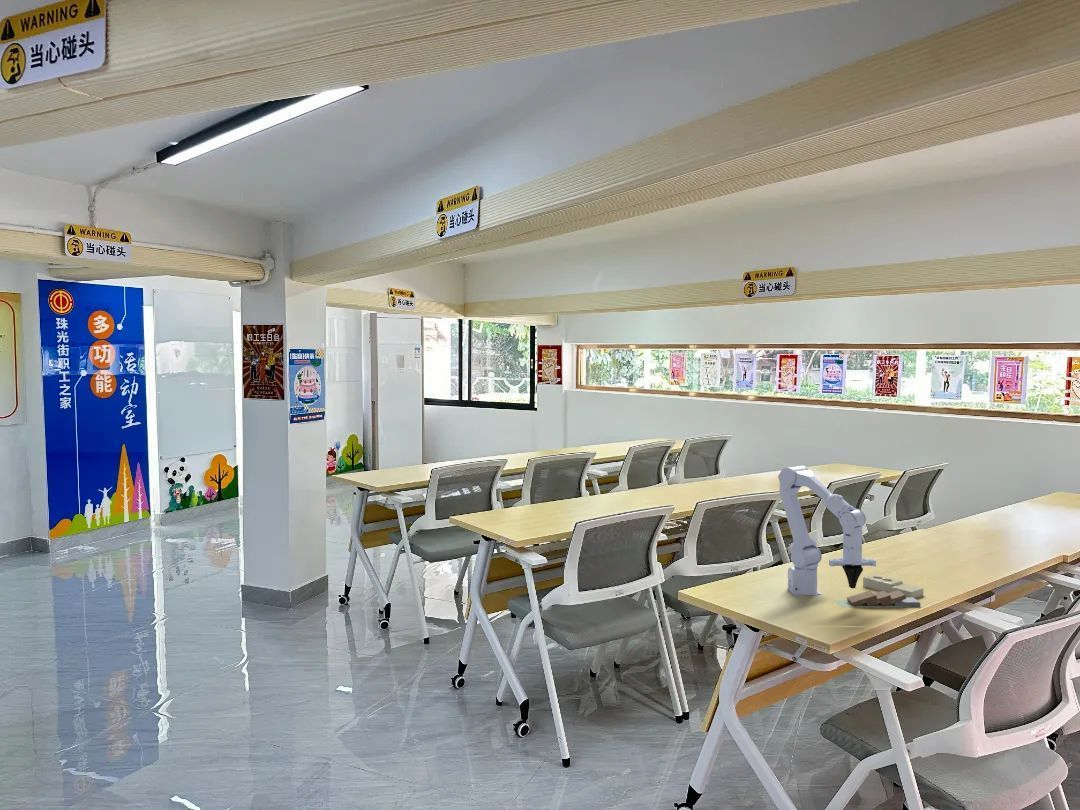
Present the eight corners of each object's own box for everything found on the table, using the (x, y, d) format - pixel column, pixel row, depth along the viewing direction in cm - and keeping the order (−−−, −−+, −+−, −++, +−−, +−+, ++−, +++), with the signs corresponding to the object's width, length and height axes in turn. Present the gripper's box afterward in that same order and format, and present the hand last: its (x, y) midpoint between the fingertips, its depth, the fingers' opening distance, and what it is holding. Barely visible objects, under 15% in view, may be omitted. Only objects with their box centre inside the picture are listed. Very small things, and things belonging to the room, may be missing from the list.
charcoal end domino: (895, 602, 238) (920, 602, 238) (888, 597, 243) (913, 597, 243) (895, 606, 238) (920, 606, 238) (888, 601, 243) (913, 601, 243)
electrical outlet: (911, 589, 245) (862, 576, 260) (911, 601, 245) (862, 588, 261) (923, 585, 249) (874, 573, 264) (923, 597, 249) (874, 584, 264)
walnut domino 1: (852, 602, 239) (876, 595, 238) (846, 597, 244) (869, 590, 243) (853, 606, 239) (877, 599, 238) (847, 601, 244) (871, 594, 243)
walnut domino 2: (866, 602, 238) (890, 595, 238) (860, 597, 243) (883, 590, 243) (867, 606, 239) (891, 599, 238) (861, 601, 243) (885, 594, 243)
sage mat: (841, 608, 238) (841, 607, 238) (833, 601, 245) (833, 600, 245) (904, 607, 238) (904, 607, 238) (894, 601, 245) (894, 600, 245)
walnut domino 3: (881, 602, 238) (904, 594, 238) (874, 597, 243) (898, 590, 243) (882, 606, 238) (906, 598, 238) (876, 601, 243) (899, 594, 243)
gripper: (834, 549, 236) (834, 591, 237) (880, 549, 236) (879, 591, 237) (826, 544, 244) (826, 584, 244) (871, 544, 243) (870, 584, 244)
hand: (852, 587), depth 241 cm, fingers closed
